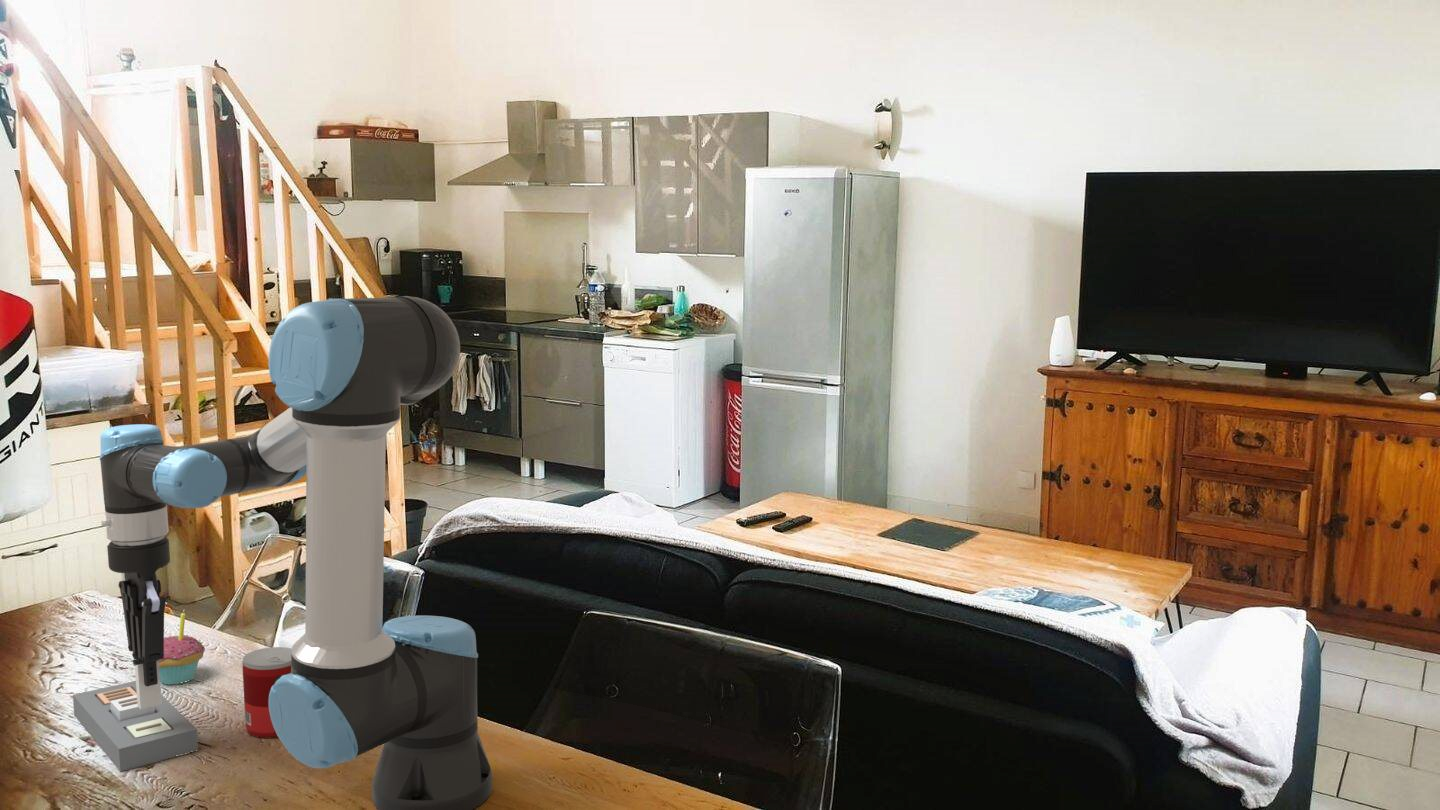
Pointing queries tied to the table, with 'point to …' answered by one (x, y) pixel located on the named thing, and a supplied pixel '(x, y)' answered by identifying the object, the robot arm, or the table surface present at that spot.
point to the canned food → (262, 686)
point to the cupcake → (180, 657)
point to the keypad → (121, 743)
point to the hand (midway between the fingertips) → (149, 705)
